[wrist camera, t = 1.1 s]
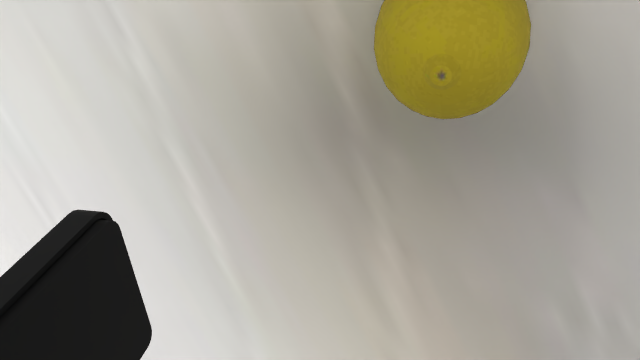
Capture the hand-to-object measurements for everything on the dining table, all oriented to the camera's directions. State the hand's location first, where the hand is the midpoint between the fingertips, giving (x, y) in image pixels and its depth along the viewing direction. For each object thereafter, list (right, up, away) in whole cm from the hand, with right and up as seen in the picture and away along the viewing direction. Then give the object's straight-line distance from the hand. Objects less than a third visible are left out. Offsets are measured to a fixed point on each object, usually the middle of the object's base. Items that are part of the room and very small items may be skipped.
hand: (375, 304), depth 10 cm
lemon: (+5, +10, +15) cm, 19 cm away
